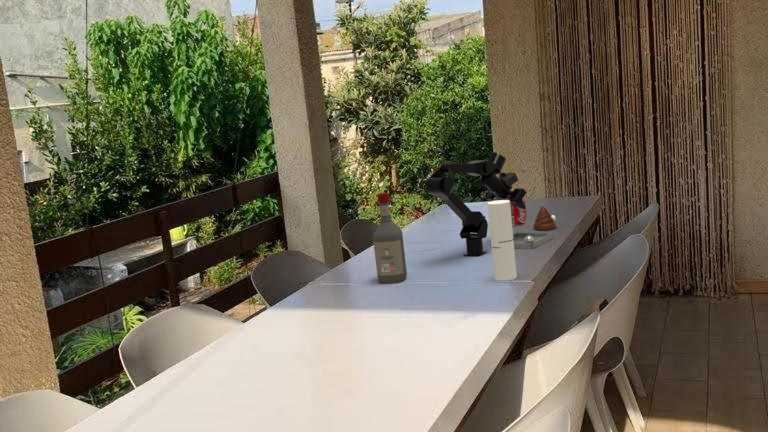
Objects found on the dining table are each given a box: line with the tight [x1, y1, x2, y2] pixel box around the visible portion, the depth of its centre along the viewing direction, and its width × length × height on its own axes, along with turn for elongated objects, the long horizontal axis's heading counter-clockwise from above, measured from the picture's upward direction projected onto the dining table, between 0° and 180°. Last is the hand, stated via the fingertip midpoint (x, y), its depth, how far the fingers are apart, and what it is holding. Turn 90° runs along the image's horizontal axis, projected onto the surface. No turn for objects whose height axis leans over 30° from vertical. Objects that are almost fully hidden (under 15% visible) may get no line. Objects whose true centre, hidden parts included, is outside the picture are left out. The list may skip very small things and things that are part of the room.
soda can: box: [507, 196, 527, 228], centre depth 328 cm, size 7×7×12 cm
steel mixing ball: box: [524, 235, 534, 243], centre depth 318 cm, size 4×4×4 cm
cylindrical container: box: [487, 200, 518, 282], centre depth 274 cm, size 7×7×25 cm
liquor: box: [372, 192, 408, 285], centre depth 289 cm, size 9×9×30 cm
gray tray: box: [513, 232, 555, 250], centre depth 325 cm, size 18×16×2 cm
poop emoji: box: [532, 205, 557, 232], centre depth 347 cm, size 10×8×9 cm
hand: (519, 207), depth 329 cm, fingers closed on soda can, 7 cm apart
